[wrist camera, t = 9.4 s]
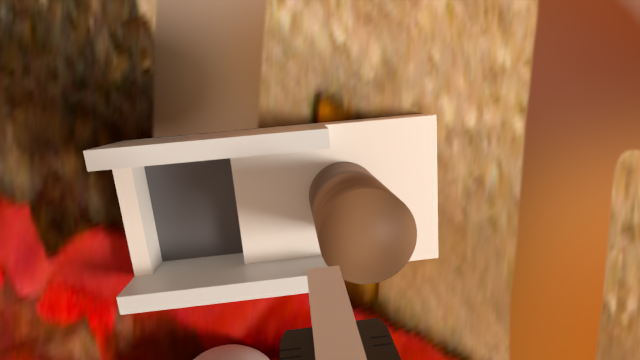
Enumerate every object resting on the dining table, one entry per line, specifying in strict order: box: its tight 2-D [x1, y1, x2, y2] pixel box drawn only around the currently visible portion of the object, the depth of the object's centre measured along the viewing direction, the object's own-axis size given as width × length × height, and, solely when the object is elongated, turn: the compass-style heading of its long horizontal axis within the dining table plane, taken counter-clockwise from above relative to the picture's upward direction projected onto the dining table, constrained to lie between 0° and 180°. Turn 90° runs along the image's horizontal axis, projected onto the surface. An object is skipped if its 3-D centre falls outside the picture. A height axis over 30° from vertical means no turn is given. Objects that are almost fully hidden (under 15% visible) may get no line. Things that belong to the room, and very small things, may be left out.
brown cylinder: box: [309, 162, 417, 284], centre depth 27 cm, size 6×6×10 cm
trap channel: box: [83, 113, 438, 315], centre depth 32 cm, size 27×13×6 cm, turn 95°
